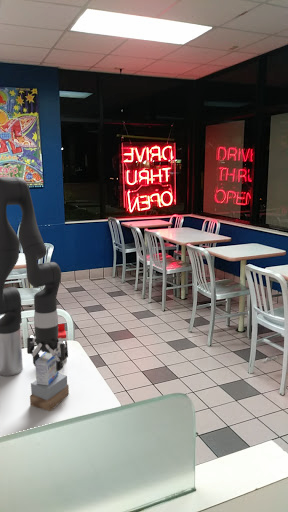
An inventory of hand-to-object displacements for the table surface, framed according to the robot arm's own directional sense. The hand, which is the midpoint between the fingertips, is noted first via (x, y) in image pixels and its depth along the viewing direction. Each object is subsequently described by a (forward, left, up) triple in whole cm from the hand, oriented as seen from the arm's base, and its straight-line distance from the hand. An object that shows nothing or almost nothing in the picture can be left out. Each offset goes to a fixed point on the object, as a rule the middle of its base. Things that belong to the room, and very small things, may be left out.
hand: (48, 367), depth 133 cm
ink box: (-13, +26, -12) cm, 32 cm away
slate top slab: (0, 0, -9) cm, 9 cm away
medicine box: (0, 0, -5) cm, 5 cm away
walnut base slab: (0, 0, -13) cm, 13 cm away
